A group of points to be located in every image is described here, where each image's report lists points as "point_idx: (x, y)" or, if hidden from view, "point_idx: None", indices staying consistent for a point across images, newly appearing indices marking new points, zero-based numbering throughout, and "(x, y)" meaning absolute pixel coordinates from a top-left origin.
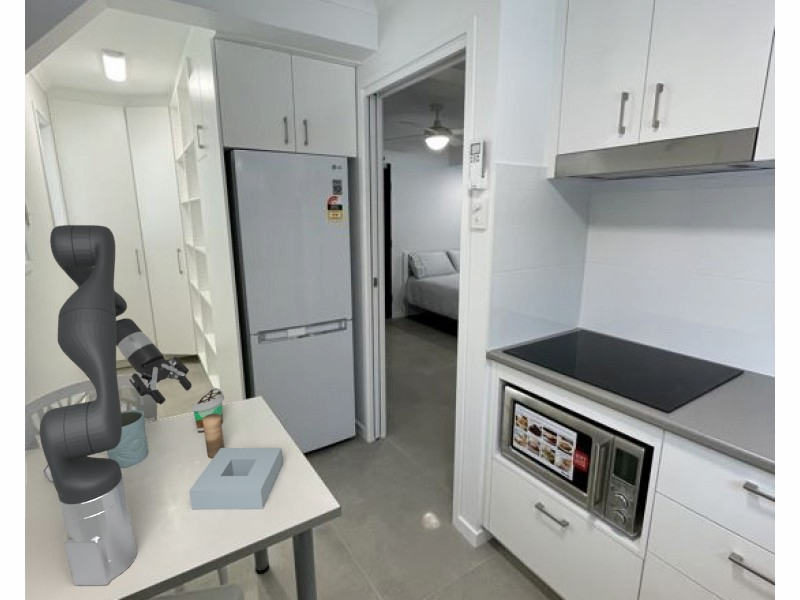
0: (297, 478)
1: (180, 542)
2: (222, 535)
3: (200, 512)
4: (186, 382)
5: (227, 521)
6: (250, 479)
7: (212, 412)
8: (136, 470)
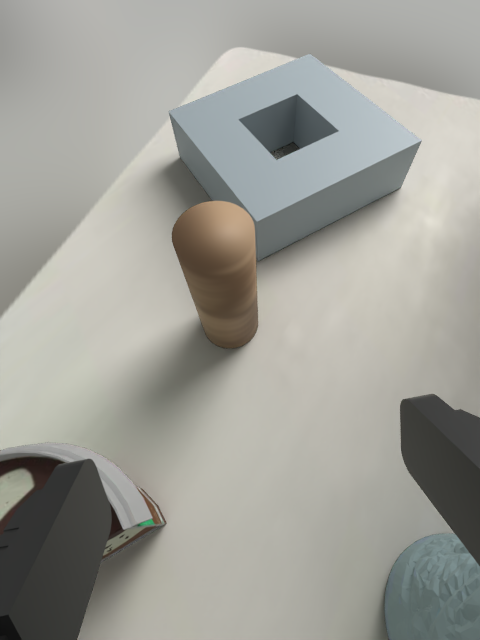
0: None
1: (454, 139)
2: (390, 106)
3: None
4: (57, 507)
5: None
6: (301, 82)
7: None
8: None
